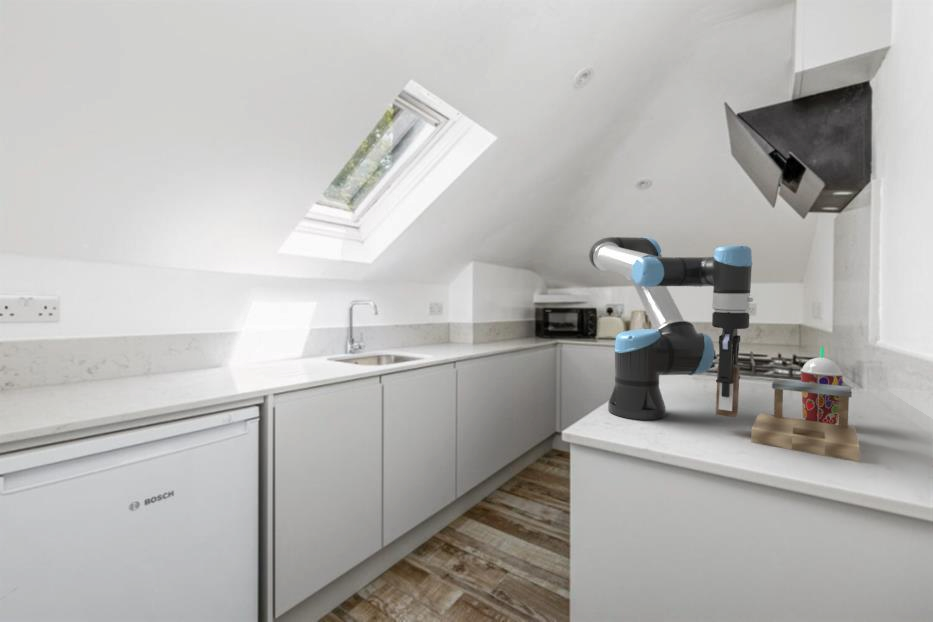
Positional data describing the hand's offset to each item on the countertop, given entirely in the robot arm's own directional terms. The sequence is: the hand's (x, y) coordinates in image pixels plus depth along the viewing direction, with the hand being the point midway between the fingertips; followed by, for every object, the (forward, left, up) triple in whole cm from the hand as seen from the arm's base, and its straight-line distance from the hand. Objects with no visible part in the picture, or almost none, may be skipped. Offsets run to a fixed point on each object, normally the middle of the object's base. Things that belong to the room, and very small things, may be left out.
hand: (727, 407), depth 102 cm
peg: (0, 0, -2) cm, 2 cm away
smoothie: (+17, +22, -6) cm, 28 cm away
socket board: (+14, +4, -6) cm, 16 cm away
